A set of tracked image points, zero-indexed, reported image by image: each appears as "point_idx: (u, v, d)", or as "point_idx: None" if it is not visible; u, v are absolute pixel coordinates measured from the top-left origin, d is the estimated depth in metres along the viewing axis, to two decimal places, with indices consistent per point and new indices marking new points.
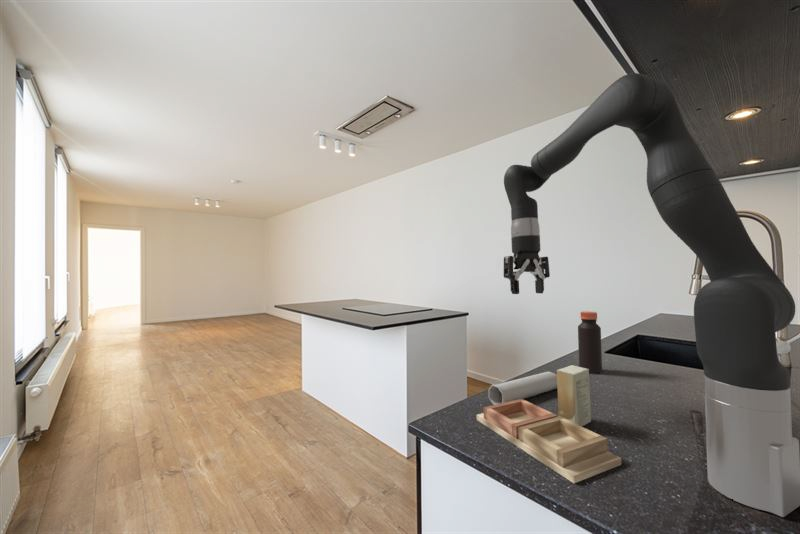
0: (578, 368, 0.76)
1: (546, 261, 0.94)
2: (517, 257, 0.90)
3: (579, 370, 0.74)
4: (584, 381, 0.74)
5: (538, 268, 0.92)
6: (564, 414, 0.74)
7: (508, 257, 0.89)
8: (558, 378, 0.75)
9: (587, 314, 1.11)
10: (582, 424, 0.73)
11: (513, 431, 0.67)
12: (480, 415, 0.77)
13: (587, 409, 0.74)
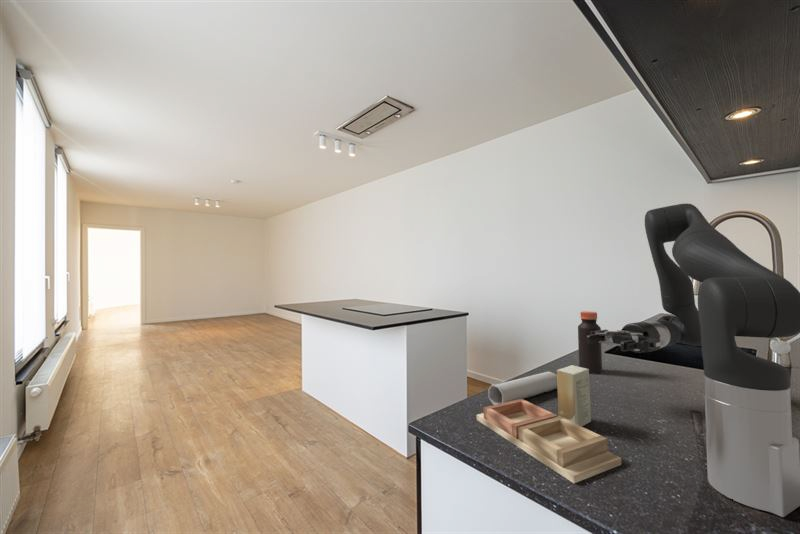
0: (578, 368, 0.76)
1: (654, 338, 0.78)
2: None
3: (579, 370, 0.74)
4: (584, 381, 0.74)
5: (633, 335, 0.81)
6: (564, 414, 0.74)
7: None
8: (558, 378, 0.75)
9: (587, 314, 1.11)
10: (582, 424, 0.73)
11: (513, 431, 0.67)
12: (480, 415, 0.77)
13: (587, 409, 0.74)
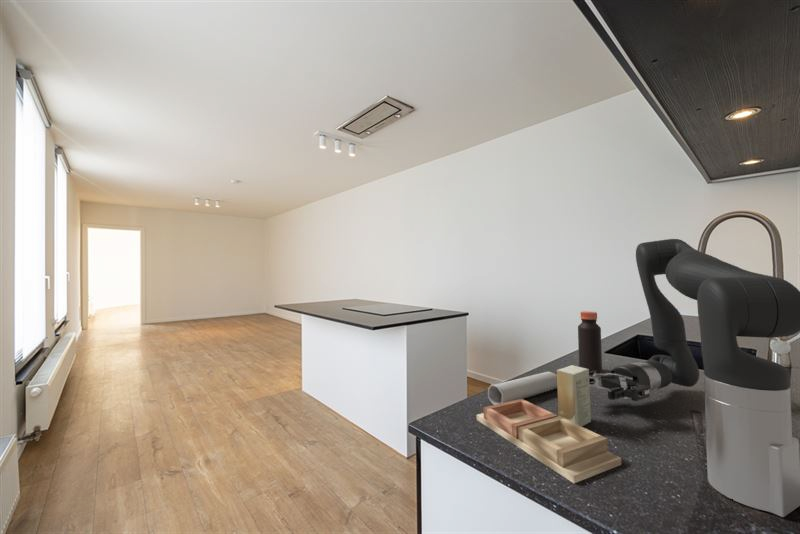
0: (578, 368, 0.76)
1: (643, 385, 0.76)
2: None
3: (579, 370, 0.74)
4: (584, 381, 0.74)
5: (621, 380, 0.78)
6: (564, 414, 0.74)
7: None
8: (558, 378, 0.75)
9: (587, 314, 1.11)
10: (582, 424, 0.73)
11: (513, 431, 0.67)
12: (480, 415, 0.77)
13: (587, 409, 0.74)
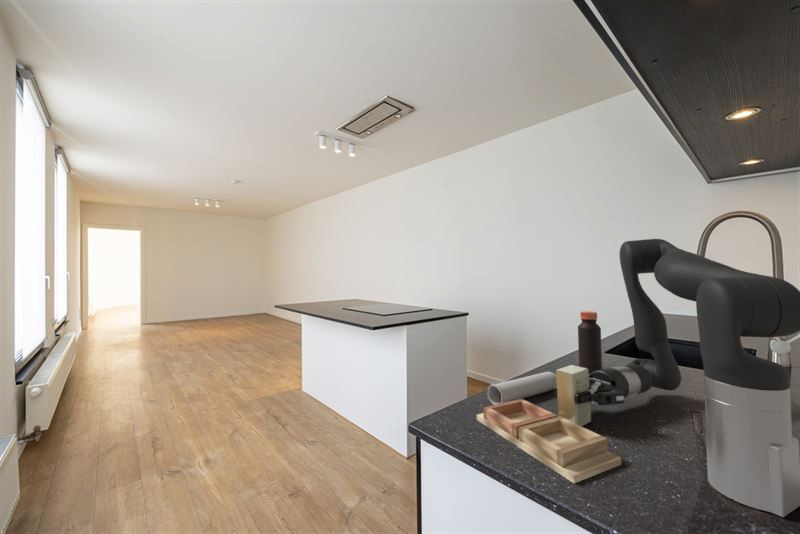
0: (577, 368, 0.76)
1: (616, 391, 0.73)
2: None
3: (578, 370, 0.74)
4: (583, 381, 0.74)
5: (595, 385, 0.76)
6: (563, 414, 0.74)
7: None
8: (557, 378, 0.75)
9: (587, 314, 1.11)
10: (582, 424, 0.73)
11: (513, 431, 0.67)
12: (480, 415, 0.77)
13: (587, 409, 0.74)
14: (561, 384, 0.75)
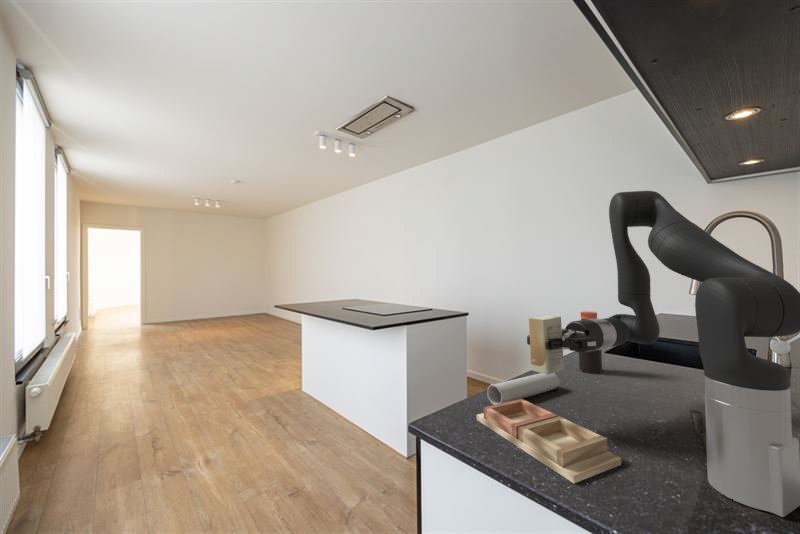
0: (550, 316, 0.75)
1: (588, 337, 0.72)
2: None
3: (550, 317, 0.74)
4: (556, 328, 0.74)
5: (568, 333, 0.75)
6: (536, 362, 0.74)
7: None
8: (530, 326, 0.75)
9: (587, 314, 1.11)
10: (554, 370, 0.73)
11: (513, 431, 0.67)
12: (480, 415, 0.77)
13: (559, 356, 0.74)
14: (533, 332, 0.74)
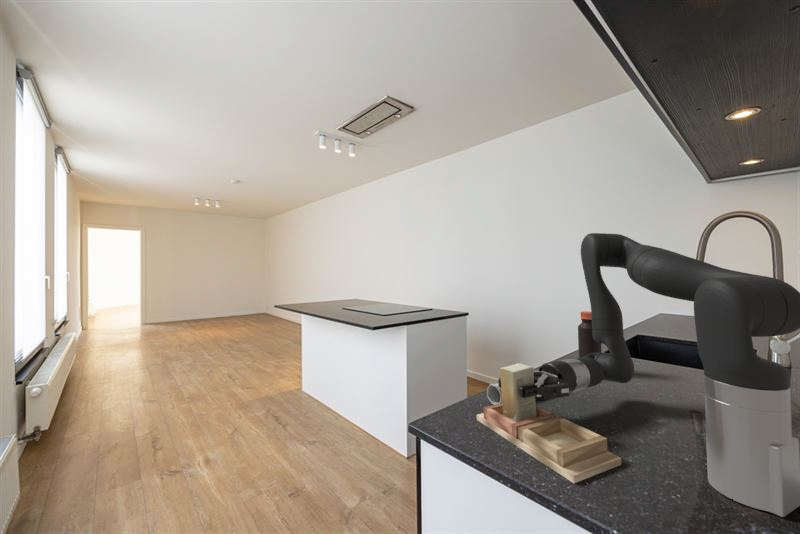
0: (522, 366, 0.74)
1: (561, 384, 0.71)
2: None
3: (522, 368, 0.72)
4: (527, 379, 0.72)
5: (541, 377, 0.73)
6: (507, 413, 0.73)
7: None
8: (501, 376, 0.74)
9: (587, 314, 1.11)
10: None
11: (513, 431, 0.67)
12: (480, 415, 0.77)
13: (531, 408, 0.72)
14: (504, 382, 0.73)
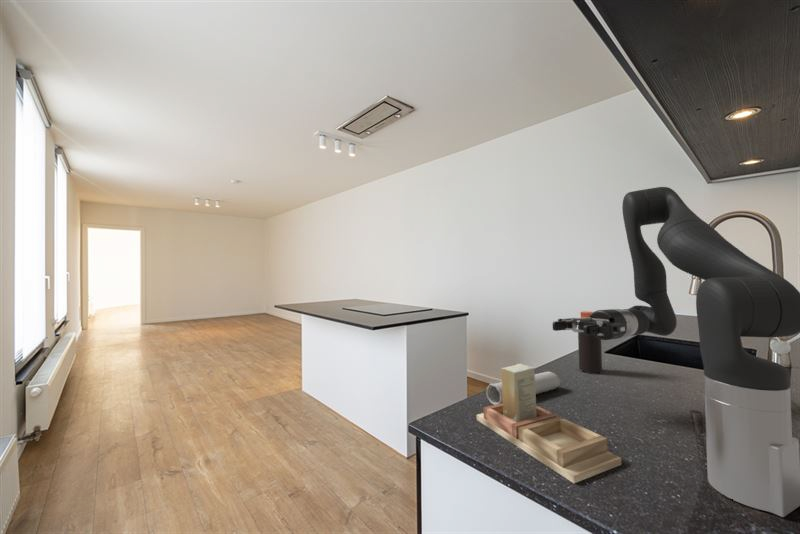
0: (524, 366, 0.74)
1: (618, 323, 0.76)
2: None
3: (523, 369, 0.72)
4: (528, 380, 0.72)
5: (598, 320, 0.79)
6: (507, 413, 0.73)
7: None
8: (502, 376, 0.74)
9: (587, 314, 1.11)
10: None
11: (513, 431, 0.67)
12: (480, 415, 0.77)
13: (531, 409, 0.72)
14: (505, 383, 0.73)
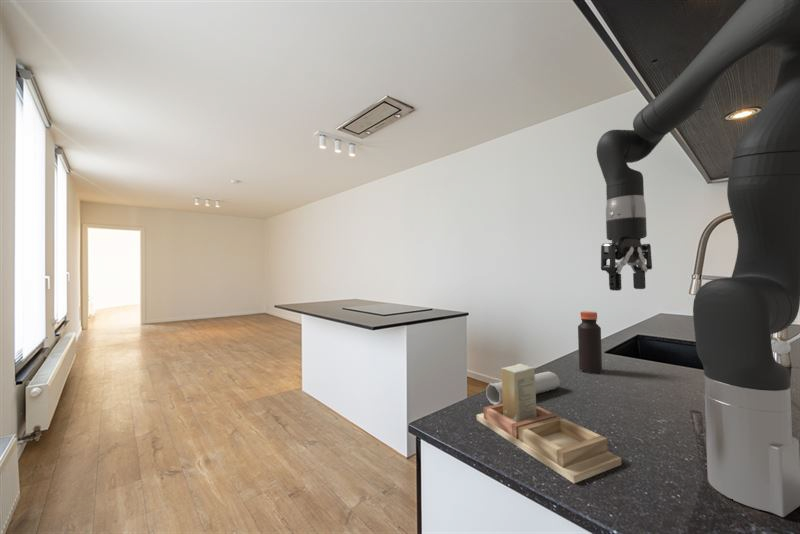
0: (524, 366, 0.74)
1: (648, 249, 0.76)
2: (619, 245, 0.72)
3: (523, 369, 0.72)
4: (528, 380, 0.72)
5: (641, 258, 0.74)
6: (507, 413, 0.73)
7: (609, 245, 0.72)
8: (502, 376, 0.74)
9: (587, 314, 1.11)
10: None
11: (513, 431, 0.67)
12: (480, 415, 0.77)
13: (531, 409, 0.72)
14: (505, 383, 0.73)
